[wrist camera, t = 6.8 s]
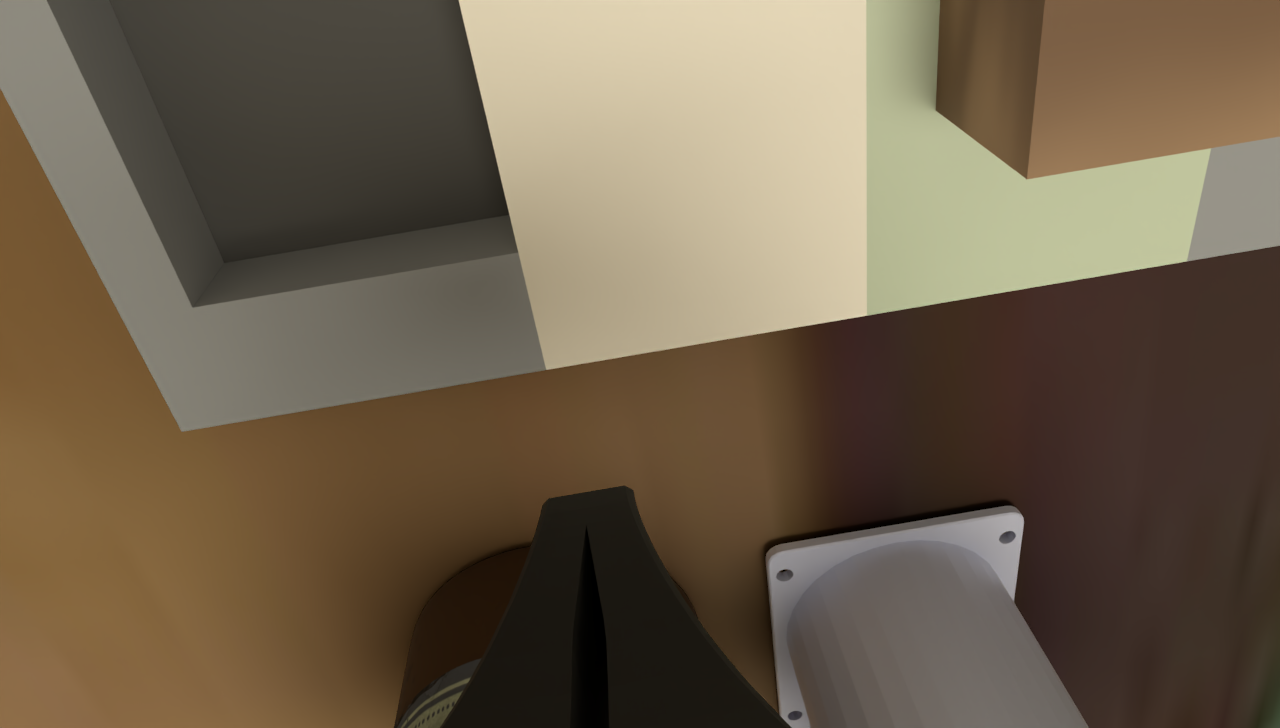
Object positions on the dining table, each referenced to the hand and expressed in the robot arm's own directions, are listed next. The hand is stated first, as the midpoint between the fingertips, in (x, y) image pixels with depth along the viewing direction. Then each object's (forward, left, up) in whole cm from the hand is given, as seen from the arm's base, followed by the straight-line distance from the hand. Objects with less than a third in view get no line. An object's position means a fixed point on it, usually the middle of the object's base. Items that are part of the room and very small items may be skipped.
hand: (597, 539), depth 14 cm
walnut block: (+6, -10, -7) cm, 14 cm away
